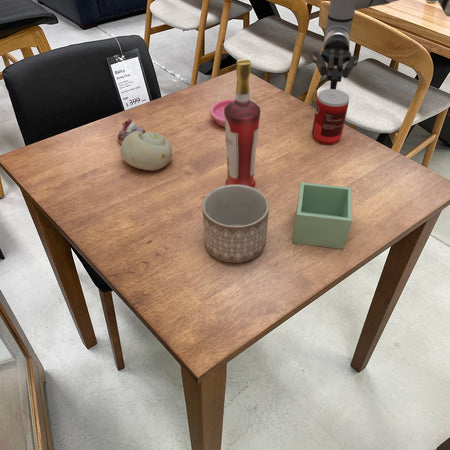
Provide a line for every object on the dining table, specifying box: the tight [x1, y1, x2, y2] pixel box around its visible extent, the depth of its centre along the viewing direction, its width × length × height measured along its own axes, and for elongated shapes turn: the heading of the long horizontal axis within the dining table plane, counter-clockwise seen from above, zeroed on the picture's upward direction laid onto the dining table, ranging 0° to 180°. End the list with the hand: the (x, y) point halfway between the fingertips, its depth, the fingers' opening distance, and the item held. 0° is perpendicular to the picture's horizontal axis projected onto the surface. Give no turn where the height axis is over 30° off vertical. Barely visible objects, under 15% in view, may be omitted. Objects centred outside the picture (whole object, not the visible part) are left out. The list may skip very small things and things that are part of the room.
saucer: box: [209, 98, 235, 128], centre depth 121 cm, size 12×12×3 cm
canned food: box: [311, 88, 350, 146], centre depth 112 cm, size 8×8×11 cm
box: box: [291, 181, 353, 250], centre depth 91 cm, size 11×11×8 cm
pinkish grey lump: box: [117, 118, 147, 145], centre depth 114 cm, size 8×8×5 cm
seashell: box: [119, 131, 173, 171], centre depth 106 cm, size 13×8×10 cm
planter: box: [201, 184, 270, 264], centre depth 87 cm, size 13×13×10 cm
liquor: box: [224, 58, 261, 188], centre depth 92 cm, size 7×7×28 cm
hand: (333, 84), depth 114 cm, fingers closed
